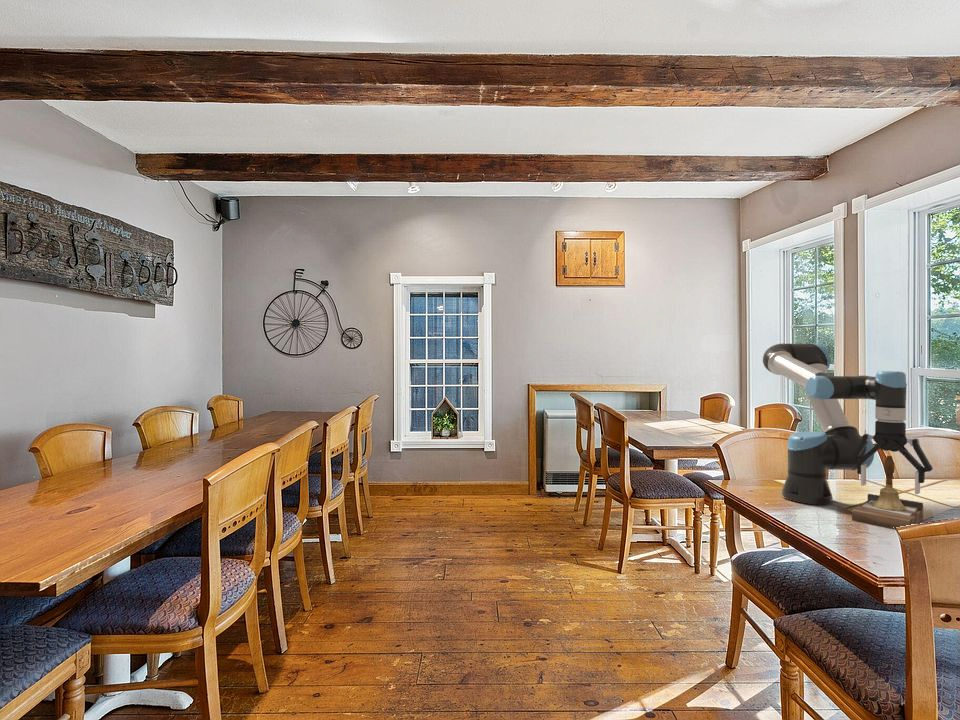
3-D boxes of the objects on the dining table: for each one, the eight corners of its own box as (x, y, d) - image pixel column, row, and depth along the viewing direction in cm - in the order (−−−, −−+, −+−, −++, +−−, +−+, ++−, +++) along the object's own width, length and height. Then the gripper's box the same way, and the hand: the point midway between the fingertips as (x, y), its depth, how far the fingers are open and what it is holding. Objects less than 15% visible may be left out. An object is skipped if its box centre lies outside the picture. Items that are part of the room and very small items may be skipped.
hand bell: (866, 503, 170) (866, 453, 170) (890, 503, 170) (891, 453, 170) (887, 511, 162) (888, 459, 161) (913, 510, 162) (914, 458, 162)
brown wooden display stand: (909, 531, 154) (909, 514, 154) (851, 520, 164) (852, 503, 164) (922, 518, 165) (923, 502, 165) (868, 508, 176) (868, 493, 176)
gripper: (839, 418, 173) (839, 483, 173) (940, 426, 154) (939, 499, 154) (846, 416, 177) (846, 479, 178) (945, 423, 159) (944, 494, 159)
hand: (889, 489), depth 166 cm, fingers open, 13 cm apart
